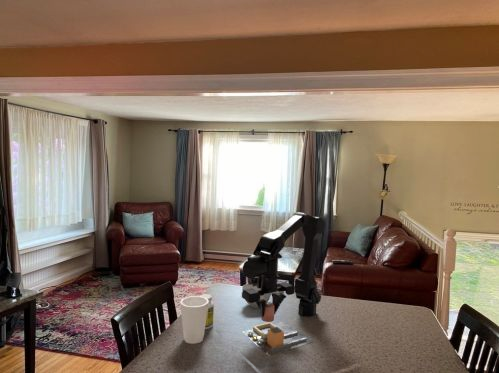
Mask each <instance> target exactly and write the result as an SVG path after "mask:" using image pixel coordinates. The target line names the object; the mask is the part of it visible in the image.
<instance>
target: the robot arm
mask: <svg viewBox="0 0 499 373" xmlns="http://www.w3.org/2000/svg"><path fill="white" fill-rule="evenodd" d="M325 226H326V225H325V220H324V219H323V218H322V217H320V216H314V215H310V214H307V213H306V212H305V213H304V212H299V211H298V212H295V213H293V216H292V217H290V218H289V219H287V221H286V222H285V223H283V224H282V225H281V226H280V227H278V228H277V229H276V230H274V231H270V232H267V233H265V234H263V235H262V236H261V237H260V239H259V241H258V243H257V245H256V247H255V248H254V250H253V253H252V255H253V256H248V257H247V259H246V261H244V263H243V265H242V272H243V274H244V277H246V278H247V284H249V285H253V287H254V286H257V288H260V289H261V290H259V291H256V290H255V289H253V288H250V289H244V290H243V291H242V290H241V298H242V299H243V300H245V302H246V301H248V302H249V303H254V302H256V304H257V306H258V308H257V309H258V312H259V315H260V318H261V317H263V316H264V312H265V305H266V301H265V300H264V295H269V294H271V297H272V299H271V300H272V302H271V303H273V304H274V305H275V308H274V316H275V314H276V313H277V312H278V309H280V308H279V307H280V306H281V304H282V303H283V301H284V300H285V299H286V298H287V296H291V295H294V294H295V298H296V299H299V304H298V309H297V311H298V315H300V316H301V317H314V316H315V315H317V316H320V315H319V314H318V313H317V305H318V304H320V303H321V299H322V295H321V294H320V292H319V291H318V283H317V281H316V279H315V269H316V260H317V250H318V244H319V243H318V241H319V239H320V238H321V237H322V235H323V234H324V228H325ZM299 229H301V230H302V233H303V236H304V247H303V254H302V262H301V274H299V276H298V277H296V278H295V279H294V285H292V284H290V283H288V282H286V281H283V282H278V280H280V276H279V274H278V269H279V259H282V258H283V255H281V254H280V252H281V251H282V250H283V249H284V247H285V244H286V241H287V240H288V239H290V237H292V236H293V235H294V234H295V233H296V232H298V230H299Z"/></svg>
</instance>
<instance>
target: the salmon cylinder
mask: <svg viewBox="0 0 499 373" xmlns="http://www.w3.org/2000/svg"><path fill="white" fill-rule="evenodd" d="M274 308H275V305H274V304H273V303H272V302H271V301H268V302H266V305H265V312H264V316H263V317H261V316H260V318H261V319H260V320H261V321H263V322H265V323H269V322H270V323H272V322H274V321H275V315H274Z"/></svg>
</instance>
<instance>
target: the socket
mask: <svg viewBox="0 0 499 373" xmlns="http://www.w3.org/2000/svg"><path fill="white" fill-rule="evenodd" d="M273 324H274V323H272V322H265V323H261V324H258V325H253V326H252V329H253V330H254V331H255V332H256V333H258V334H259V335H260V336H261V337H263V338H264V339H265V338H268V333H267V334H264V333H263V332H261V331H260V330H259V329H261V328H265V327H269V326H270V327H271V328H274V327H276V326H274V325H273Z"/></svg>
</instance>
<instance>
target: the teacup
mask: <svg viewBox="0 0 499 373" xmlns="http://www.w3.org/2000/svg"><path fill="white" fill-rule="evenodd" d="M241 288H242V290H241V292H242V291H243V290H244V289H250V288H253V289H255V290H256V291H259V290H261V289H260V288H257V286H254V287H253V285H249V284H248V283H246V284H243V285H242V287H241ZM271 297H272V295H271V294H269V295H264V300H265V301H266V302H269V300H270V299H271ZM245 302H246V303H247V304H248V305H249V307H251V308H253V309H258V306H257V304H256V302H254V303H249V302H248V301H246V300H245Z"/></svg>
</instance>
